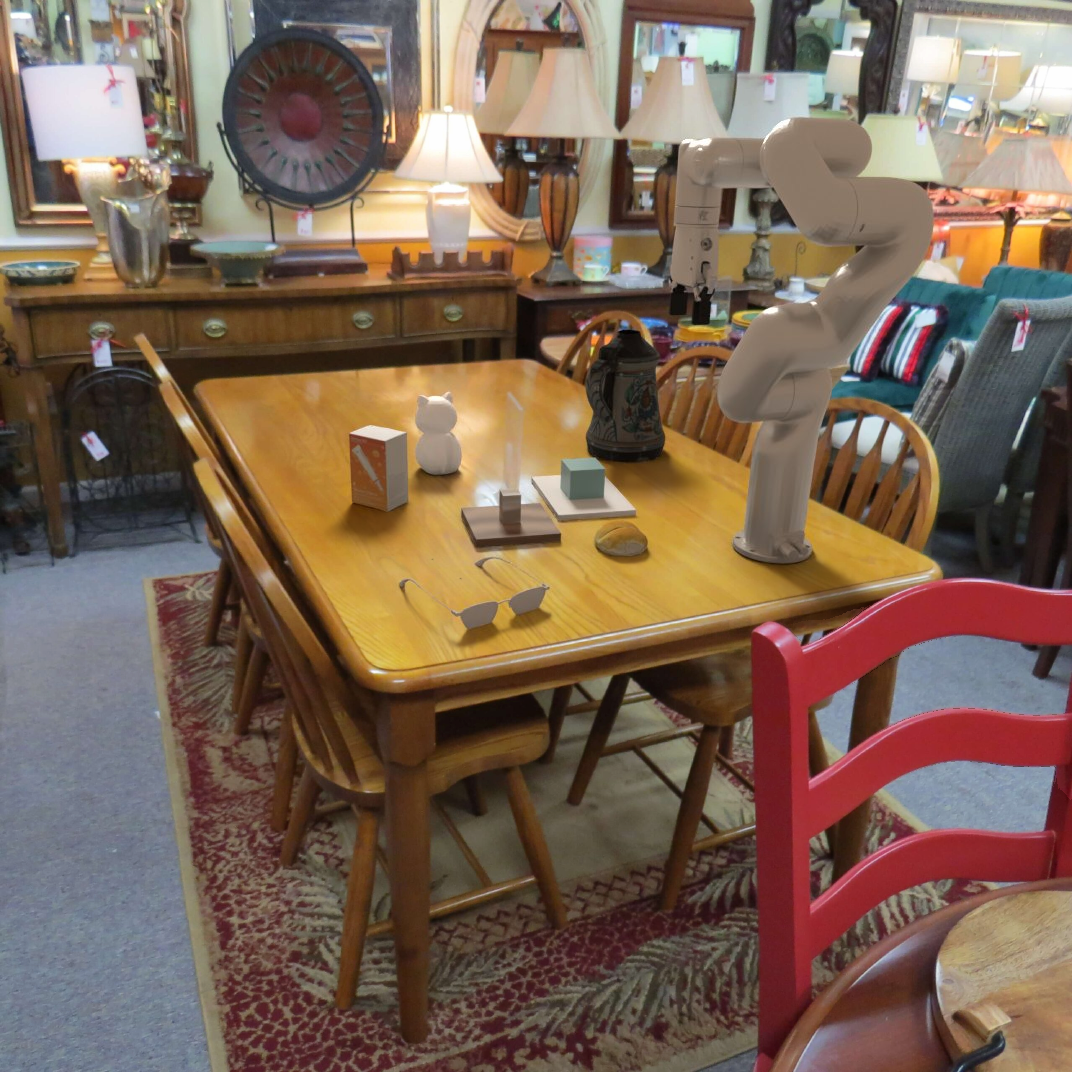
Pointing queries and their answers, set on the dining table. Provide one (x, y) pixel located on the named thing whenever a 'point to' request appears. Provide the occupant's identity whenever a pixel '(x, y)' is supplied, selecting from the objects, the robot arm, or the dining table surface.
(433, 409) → the cat figurine
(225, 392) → the dining table surface
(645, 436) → the beer stein
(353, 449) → the small box
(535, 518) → the post stand
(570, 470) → the cube
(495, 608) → the eyeglasses
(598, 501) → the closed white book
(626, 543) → the bread roll
